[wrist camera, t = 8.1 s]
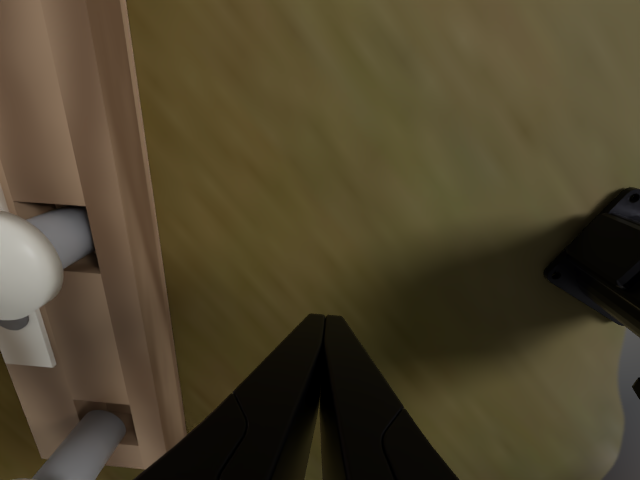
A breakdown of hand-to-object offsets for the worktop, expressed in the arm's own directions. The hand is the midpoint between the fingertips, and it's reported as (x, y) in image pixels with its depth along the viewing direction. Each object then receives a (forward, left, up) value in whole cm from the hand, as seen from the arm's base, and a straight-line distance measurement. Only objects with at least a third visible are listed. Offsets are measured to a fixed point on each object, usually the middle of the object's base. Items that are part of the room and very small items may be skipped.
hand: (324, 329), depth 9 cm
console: (+12, +9, -12) cm, 19 cm away
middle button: (+12, +9, -11) cm, 19 cm away
